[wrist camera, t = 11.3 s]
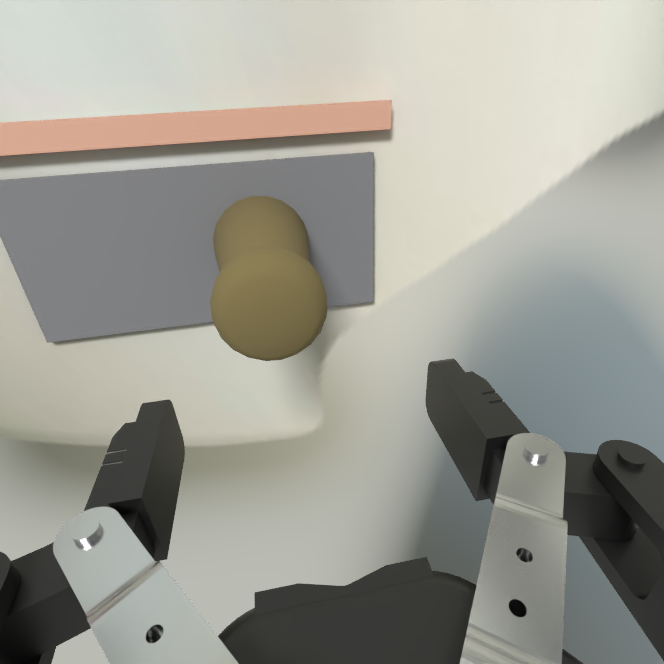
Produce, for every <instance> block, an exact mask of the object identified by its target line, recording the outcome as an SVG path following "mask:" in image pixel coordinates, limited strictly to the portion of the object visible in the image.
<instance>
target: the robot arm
mask: <svg viewBox="0 0 664 664" xmlns="http://www.w3.org/2000/svg"><path fill="white" fill-rule="evenodd" d="M426 408H427V413H428V416H429V418H430V420H431V422H432V424H433V425H434V427H435V429H436V431H437V432H438V434H439V436H440V438H441V439H442V441H443V443H444V445H445V447H446V449H447V450H448V452H449V454H450V456H451V457H452V459H453V461H454V463H455V464H456V466H457V468H458V470H459V472H460V473H461V475H462V477H463V479H464V481H465V482H466V484H467V486H468V488H469V489H470V491H471V493H472V495H473V497H474V498H475V500H476V501H478V500H484V499H489V498H490V500H491V501H492V503H493V505H494V507H493V512H492V516H491V521H490V525H489V530H488V535H487V539H486V544H485V548H484V553H483V558H482V562H481V567H480V572H479V576H478V581H477V586H476V585H475V584H473V583H471V582H469V581H467V580H465V579H463V578H461V577H458V576H455V575H452V574H448V573H443V572H439V571H432V570H431V567H430V565H429V562H428V560H427V557H425V558H420V559H415V560H410V561H405V562H400V563H396V564H391V565H386V566H384V567H382V568H380V569H378V570H376V571H374V572H372V573H370V574H368V575H366V576H364V577H363V578H361V579H359V580H357V581H355V582H353V583H351V584H349V585H346V586H331V585H330V586H329V585H314V584H294V585H290V586H285V587H280V588H275V589H270V590H265V591H260V592H255V608H253V609H252V610H250V611H248V612H246V613H245V614H243V615H242V616H240V617H239V618H237V619H236V620H235V621H234V622H232V623H231V624H230V625H229V626H227V627H226V629H224V631H222V633H221V634H220V635H219V636H217V635H216V634H215V632H214V631H213V630H212V628H211V627H210V626H209V624H208V623H207V622H206V620H205V619H204V618H203V616H202V615H201V614H200V613H199V611H198V610H197V609H196V607H195V606H194V605H193V603H192V602H191V601H190V599H189V598H188V597H187V595H186V594H185V593H184V592H183V590H182V589H181V588H180V586H179V585H178V584H177V582H176V581H175V580H174V579H173V577H172V576H171V575H170V573H169V572H168V571H167V569H166V568H165V567H164V566H163V564H162V563H161V562H159V561H160V560H165V559H167V556H168V550H169V544H170V538H171V533H172V527H173V520H174V515H175V509H176V503H177V498H178V492H179V486H180V480H181V474H182V469H183V462H184V455H185V453H184V452H185V450H184V441H183V437H182V433H181V430H180V427H179V424H178V420H177V417H176V414H175V411H174V408H173V405H172V402H171V401H170V400H163V401H156V402H149V403H143V404H142V405H141V408H140V411H139V414H138V417H137V419H136V422H132V423H125V424H124V425H123V426H122V428H121V429H120V430H119V431H118V432H117V433H116V434H115V435H114V436H113V438H112V440H111V443H110V445H109V448H108V451H107V455H106V456H105V458H104V461H103V463H102V464H103V466H102V467H101V469H100V471H99V474H98V476H97V479H96V482H95V484H94V487H93V489H92V492H91V495H90V497H89V499H88V502H87V504H86V507H85V510H84V512H82V513H80V514H79V515H77V516H75V517H74V518H72V519H71V520H70V521H69V522H67V523H66V524H65V526H63V528H62V529H61V530H60V531H59V533H58V534H57V536H56V538H55V541H54V542H53V543H52V544H49V545H47V546H45V547H43V548H41V549H39V550H36V551H34V552H32V553H29V554H27V555H25V556H22V557H20V558H18V559H16V560H13V561H10V559H9V558H8V557H7V555H5V554H4V553H2V552H0V664H51V662H52V659H53V656H54V652H55V649H56V646H58V645H59V644H61V643H63V642H65V641H67V640H69V639H71V638H73V637H74V636H77V635H78V634H80V633H82V632H84V631H86V630H88V629H90V628H92V631H93V633H94V634H95V636H96V638H97V640H98V642H99V644H100V646H101V648H102V650H103V651H104V653H105V655H106V657H107V659H108V661H109V663H110V664H583V663H582V662H580V661H579V660H577V659H576V658H575V657H573V656H572V655H571V654H569V653H568V652H567V651H565V650H564V649H562V647H563V623H564V600H565V574H566V553H567V535H574V536H579V537H580V539H581V540H582V541H583V543H584V544H585V546H586V547H587V549H588V550H589V552H590V553H591V555H592V556H593V558H594V559H595V561H596V562H597V563H598V565H599V566H600V568H601V569H602V571H603V572H604V574H605V575H606V577H607V578H608V580H609V581H610V583H611V584H612V585H613V587H614V589H615V590H616V591H617V593H618V594H619V596H620V597H621V598H622V600H623V602H624V603H625V605H626V606H627V608H628V609H629V611H630V612H631V614H632V615H633V616H634V618H635V619H636V621H637V622H638V624H639V625H640V626H641V628H642V629H643V631H644V633H645V634H646V636H647V637H648V639H649V640H650V642H651V643H652V644H653V646H654V647H655V649H656V650H657V652H658V653H659V655H660V656H661V658H662V659H663V661H664V463H663V462H661V461H660V460H659V459H658V458H657V457H656V456H655V455H654V454H653V453H651V452H650V451H649V450H647V449H645V448H643V447H641V446H639V445H637V444H634V443H631V442H627V441H622V440H610V441H606V442H604V443H603V444H601V445H600V447H599V449H598V452H597V455H595V454H583V453H572V452H564V451H563V450H562V449H561V448H560V447H559V446H558V445H557V444H556V443H554V442H553V441H552V440H550V439H548V438H546V437H544V436H541V435H538V434H532V433H530V432H529V431H528V430H527V428H526V427H525V426H524V425H523V424H522V422H521V421H520V420H519V419H518V418H517V417H516V415H515V414H514V413H513V412H512V411H511V409H510V408H509V407H508V406H507V405H506V403H505V402H503V401H502V399H501V397H500V396H499V395H498V394H497V393H495V390H494V389H493V388H492V387H491V385H490V384H489V383H488V382H487V381H486V380H485V379H484V378H482V377H480V376H479V375H477V374H475V373H474V372H466V373H465V371H464V370H463V369H462V368H461V366H460V365H459V364H458V363H457V361H456V360H455V359H446V360H440V361H433V362H430V363H429V365H428V375H427V389H426ZM155 561H157V562H155Z"/></svg>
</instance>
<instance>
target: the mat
mask: <svg viewBox="0 0 664 664" xmlns="http://www.w3.org/2000/svg"><path fill="white" fill-rule="evenodd" d="M250 196H269V197H272V198H275V199H278V200H281V201H283V202H284V203H286V204H287V205H289V206H290V207H291V208H293V209H294V210H295V211H296V212H297V214H298V215H299V216H300V218H301V219H302V221H303V222H304V225H305V228H306V231H307V234H308V253H309V262H310V264H311V265H312V266H313V268H314V269H315V270H316V271H317V273H318V274H319V275H320V277H321V279H322V282H323V285H324V288H325V291H326V294H327V308H328V307H336V306H344V305H352V304H360V303H368V302H374V153H373V152H366V153H353V154H339V155H326V156H313V157H300V158H286V159H273V160H260V161H247V162H233V163H220V164H207V165H194V166H180V167H167V168H154V169H141V170H127V171H114V172H101V173H88V174H74V175H61V176H48V177H34V178H21V179H8V180H0V237H1V239H2V241H3V244H4V246H5V248H6V250H7V253H8V255H9V257H10V259H11V262H12V264H13V266H14V268H15V271H16V273H17V275H18V277H19V280H20V282H21V284H22V287H23V289H24V291H25V293H26V296H27V298H28V300H29V302H30V305H31V307H32V309H33V311H34V314H35V316H36V318H37V320H38V323H39V325H40V327H41V329H42V332H43V334H44V336H45V339H46V341H47V343H48V342H56V341H64V340H72V339H80V338H88V337H96V336H104V335H112V334H120V333H128V332H136V331H144V330H152V329H160V328H168V327H176V326H184V325H192V324H200V323H208V322H213V320H212V315H211V307H210V299H211V294H212V290H213V286H214V282H215V279H216V278H217V276H218V275H219V273H220V272H219V268H218V264H217V260H216V256H215V252H214V243H213V236H214V231H215V227H216V223H217V222H218V220H219V218H220V217H221V215H222V214H223V212H224V211H225V210H226V209H227V208H229V207H230V206H231V205H232V204H234V203H235V202H236V201H239V200H242V199H244V198H247V197H250Z"/></svg>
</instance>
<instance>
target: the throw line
mask: <svg viewBox="0 0 664 664" xmlns="http://www.w3.org/2000/svg"><path fill="white" fill-rule="evenodd" d="M391 105H392V100H384V101H367V102H350V103H333V104H316V105H298V106H281V107H264V108H247V109H230V110H213V111H196V112H179V113H162V114H145V115H128V116H110V117H93V118H76V119H59V120H42V121H25V122H8V123H0V156H5V155H19V154H34V153H49V152H63V151H78V150H93V149H107V148H122V147H137V146H151V145H166V144H180V143H195V142H210V141H224V140H239V139H254V138H268V137H283V136H298V135H312V134H327V133H342V132H356V131H371V130H386V129H391Z"/></svg>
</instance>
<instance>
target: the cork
mask: <svg viewBox="0 0 664 664" xmlns="http://www.w3.org/2000/svg"><path fill="white" fill-rule="evenodd" d="M213 243H214V252H215V256H216V260H217V264H218V268H219V272H220V273H219V275H218V276H217V278H216V279H215V282H214V286H213V290H212V294H211V299H210V307H211V315H212V320H213V322H214V324H215V326H216V328H217V330H218V332H219V334H220V336H221V338H222V339H223V340H224V341H225V342H226V343H227V344H228V345H229V346H230V347H231V348H232V349H233V350H235V351H237V352H239V353H241V354H243V355H245V356H247V357H249V358H254V359H259V360H264V361H270V360H282V359H285V358H287V357H290V356H293V355H296V354H298V353H299V352H300V351H302V350H303V349H305V348H306V347H308V346H309V345H310V344H311V343H312V342H313V341H314V339H315V338H316V337H317V336H318V334H319V333H320V332H321V329H322V327H323V324H324V321H325V319H326V314H327V294H326V291H325V288H324V285H323V282H322V279H321V277H320V275H319V274H318V273H317V271H316V270H315V269H314V268H313V266H312V265H311V264H310V262H309V253H308V234H307V231H306V228H305V225H304V222H303V221H302V219H301V218H300V216H299V215H298V214H297V212H296V211H295V210H294V209H293V208H291V207H290V206H289V205H287V204H286V203H284V202H283V201H281V200H278V199H275V198H272V197H269V196H250V197H247V198H244V199H242V200H239V201H236V202H235V203H234V204H232V205H231V206H230V207H229V208H227V209H226V210H225V211H224V212H223V214H222V215H221V217H220V218H219V220H218V222H217V223H216V227H215V231H214V236H213Z"/></svg>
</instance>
